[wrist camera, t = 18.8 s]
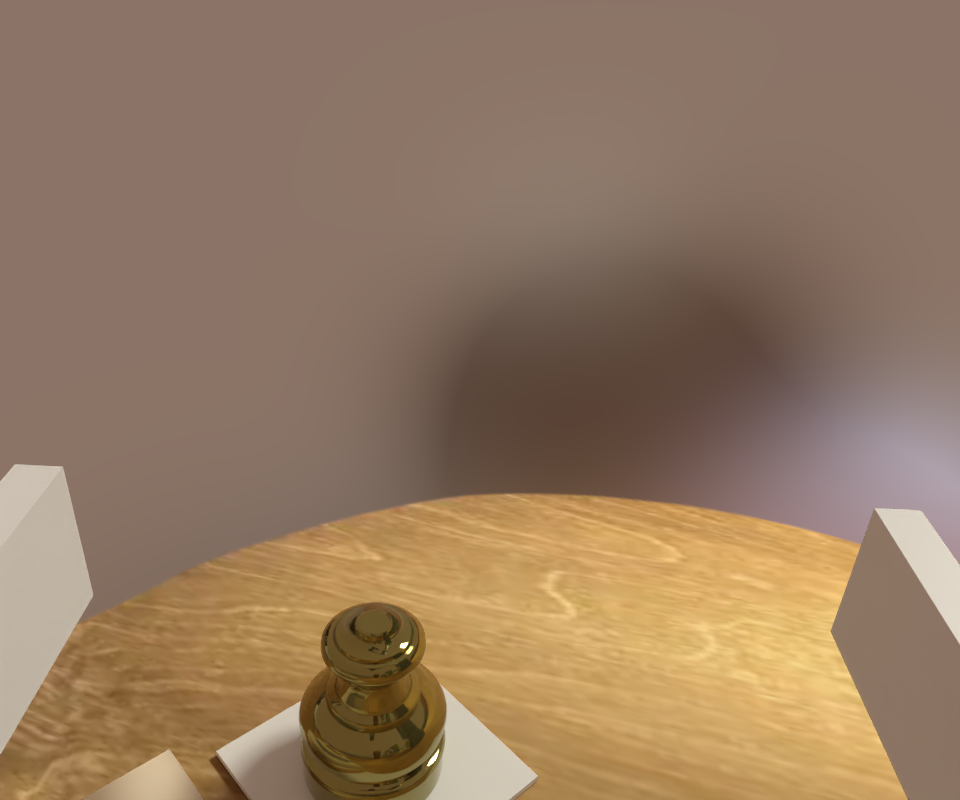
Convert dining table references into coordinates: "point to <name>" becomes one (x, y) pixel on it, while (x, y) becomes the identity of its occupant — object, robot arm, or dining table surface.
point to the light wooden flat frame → (151, 783)
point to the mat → (457, 796)
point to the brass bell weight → (373, 710)
